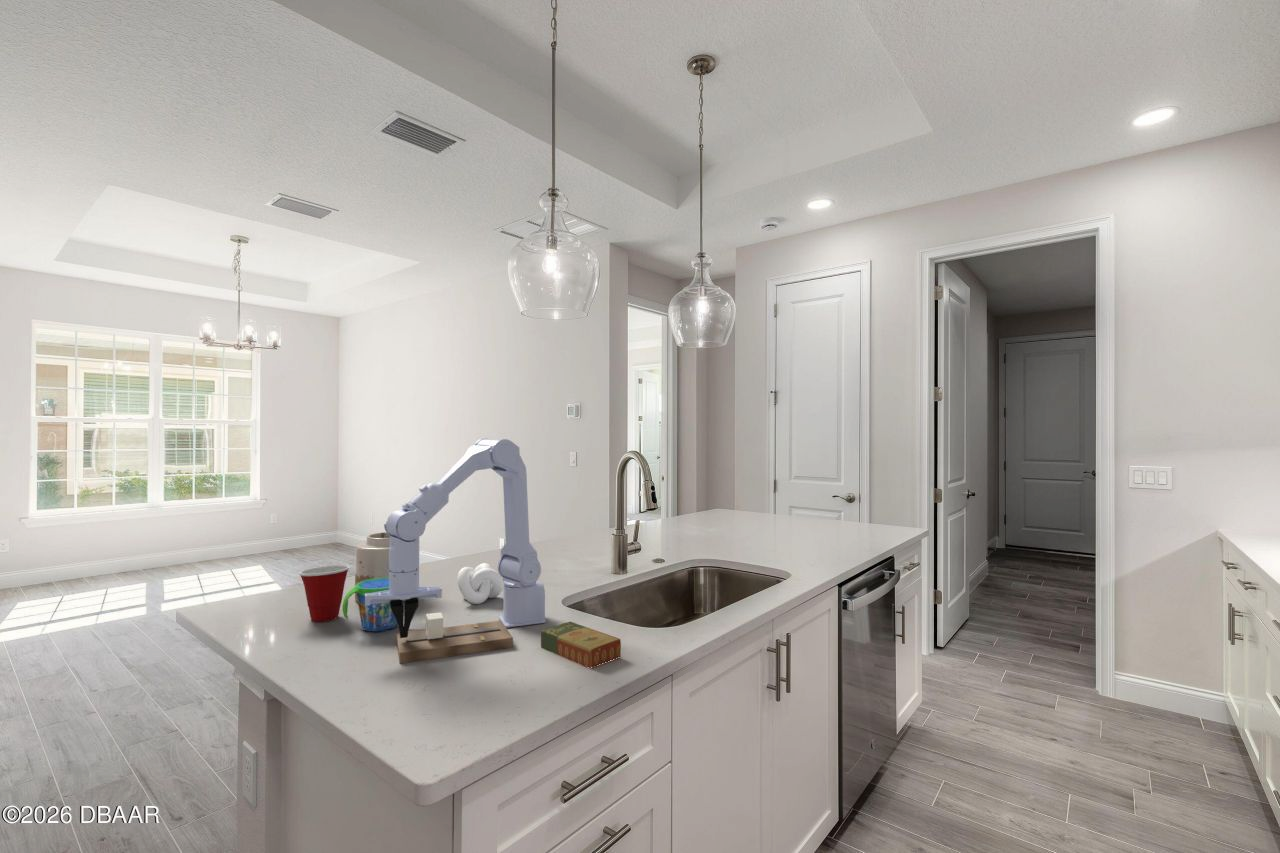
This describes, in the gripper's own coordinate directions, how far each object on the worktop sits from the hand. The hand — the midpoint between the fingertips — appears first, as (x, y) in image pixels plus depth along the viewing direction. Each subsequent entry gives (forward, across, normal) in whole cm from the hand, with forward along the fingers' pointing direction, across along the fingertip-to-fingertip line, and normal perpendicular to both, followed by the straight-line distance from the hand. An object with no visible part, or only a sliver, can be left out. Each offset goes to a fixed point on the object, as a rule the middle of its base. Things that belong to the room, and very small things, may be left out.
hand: (403, 636), depth 123 cm
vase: (+3, -2, +43) cm, 43 cm away
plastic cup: (+3, -16, +30) cm, 34 cm away
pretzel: (+3, +21, +31) cm, 38 cm away
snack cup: (+3, -4, +18) cm, 19 cm away
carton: (+4, +33, -14) cm, 36 cm away
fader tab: (+1, +6, 0) cm, 6 cm away
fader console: (+3, +10, 0) cm, 10 cm away
